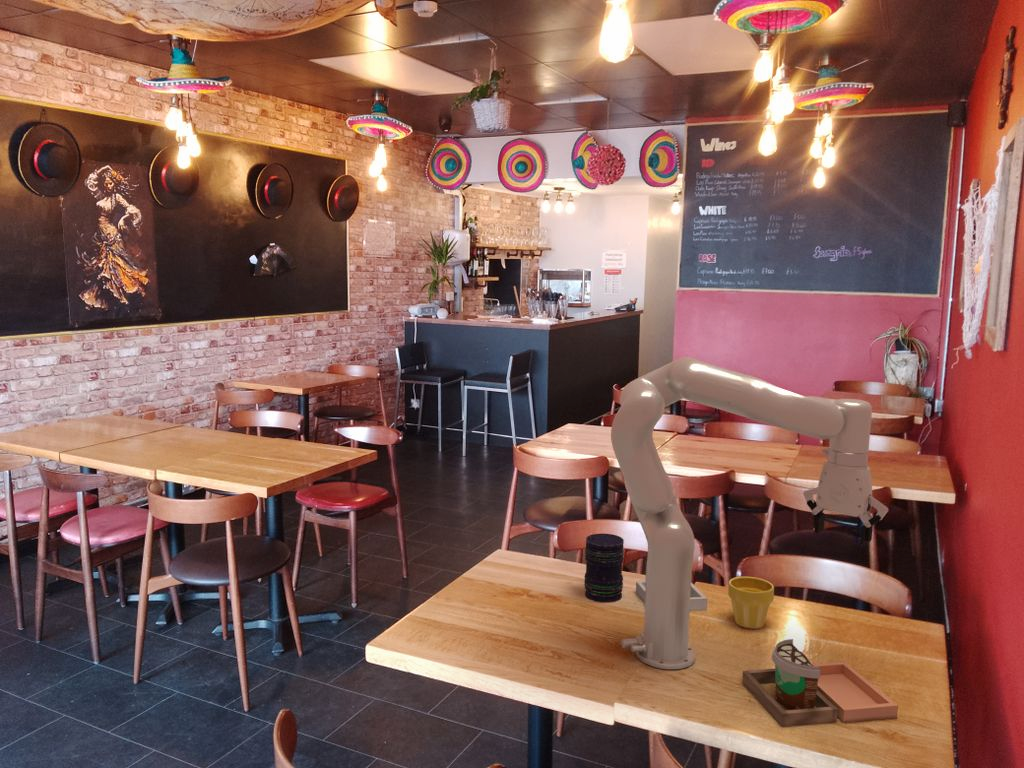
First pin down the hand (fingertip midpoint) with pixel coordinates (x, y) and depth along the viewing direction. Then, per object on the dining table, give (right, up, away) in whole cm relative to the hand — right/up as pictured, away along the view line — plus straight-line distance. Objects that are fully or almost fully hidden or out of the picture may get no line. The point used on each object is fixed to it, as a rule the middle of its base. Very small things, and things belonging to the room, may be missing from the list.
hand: (841, 537), depth 164 cm
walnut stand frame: (-16, -29, -13) cm, 36 cm away
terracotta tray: (-4, -29, -11) cm, 31 cm away
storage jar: (-46, -23, +38) cm, 63 cm away
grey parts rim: (-29, -23, +34) cm, 50 cm away
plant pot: (-13, -25, +22) cm, 36 cm away
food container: (-16, -30, -13) cm, 36 cm away
